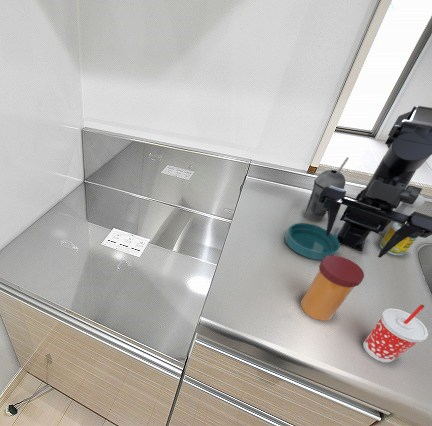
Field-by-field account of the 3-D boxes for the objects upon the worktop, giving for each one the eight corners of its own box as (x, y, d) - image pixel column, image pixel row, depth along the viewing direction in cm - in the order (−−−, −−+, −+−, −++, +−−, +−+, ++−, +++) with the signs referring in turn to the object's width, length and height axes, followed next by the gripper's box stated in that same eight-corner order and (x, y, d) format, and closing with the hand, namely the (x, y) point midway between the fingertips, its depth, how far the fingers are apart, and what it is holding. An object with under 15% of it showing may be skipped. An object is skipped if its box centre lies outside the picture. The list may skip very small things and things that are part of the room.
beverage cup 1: (301, 207, 94) (327, 148, 82) (328, 214, 90) (359, 154, 78) (297, 218, 89) (324, 158, 77) (325, 227, 85) (358, 165, 73)
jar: (304, 292, 67) (326, 254, 59) (334, 307, 64) (362, 267, 56) (297, 310, 63) (320, 271, 56) (329, 326, 60) (358, 287, 53)
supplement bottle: (383, 239, 81) (403, 211, 75) (407, 250, 77) (430, 222, 71) (375, 247, 78) (395, 219, 72) (399, 259, 75) (422, 230, 69)
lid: (322, 256, 61) (326, 250, 60) (362, 271, 57) (366, 265, 56) (315, 275, 57) (318, 269, 56) (357, 293, 53) (362, 287, 52)
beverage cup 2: (369, 330, 59) (409, 285, 51) (405, 356, 55) (455, 312, 46) (351, 344, 57) (390, 299, 49) (387, 373, 53) (437, 329, 44)
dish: (290, 225, 86) (294, 217, 84) (338, 243, 80) (343, 235, 78) (278, 247, 79) (281, 239, 77) (330, 268, 72) (335, 260, 71)
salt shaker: (396, 229, 84) (424, 191, 76) (405, 242, 79) (436, 203, 72) (372, 226, 85) (397, 188, 78) (379, 238, 81) (406, 199, 73)
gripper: (342, 150, 59) (303, 218, 59) (474, 182, 48) (425, 265, 48) (336, 170, 68) (302, 229, 68) (445, 201, 57) (405, 271, 58)
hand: (351, 246), depth 60 cm, fingers open, 9 cm apart
